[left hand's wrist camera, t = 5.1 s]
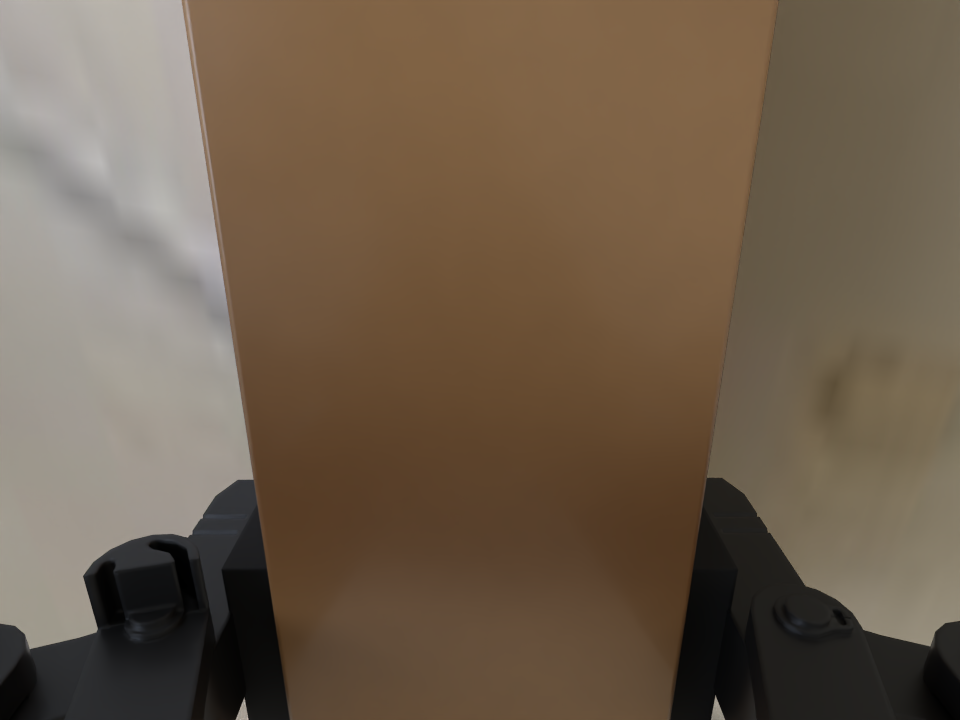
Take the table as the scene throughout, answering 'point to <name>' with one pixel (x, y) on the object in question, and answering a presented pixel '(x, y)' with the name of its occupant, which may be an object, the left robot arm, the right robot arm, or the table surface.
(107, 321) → the table surface
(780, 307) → the table surface
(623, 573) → the beam
